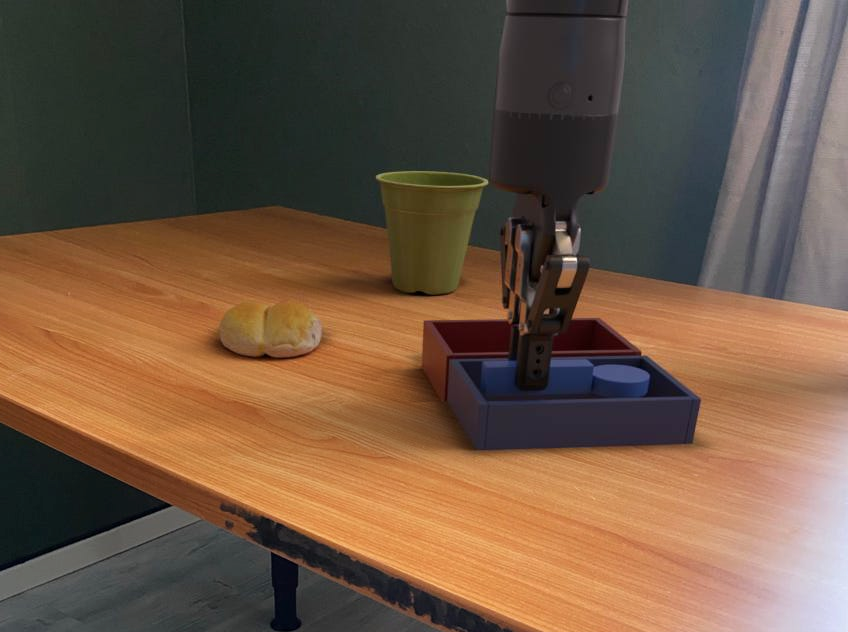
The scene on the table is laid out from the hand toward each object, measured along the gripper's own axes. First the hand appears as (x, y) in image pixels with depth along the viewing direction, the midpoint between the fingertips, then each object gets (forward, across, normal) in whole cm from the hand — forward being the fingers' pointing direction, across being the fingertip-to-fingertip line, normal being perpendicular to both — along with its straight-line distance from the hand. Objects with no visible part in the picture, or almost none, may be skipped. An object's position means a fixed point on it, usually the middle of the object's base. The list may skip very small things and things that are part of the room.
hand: (526, 383), depth 70 cm
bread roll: (+4, +24, +17) cm, 29 cm away
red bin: (+4, +11, -3) cm, 12 cm away
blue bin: (+4, 0, -3) cm, 5 cm away
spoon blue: (+1, 0, -3) cm, 3 cm away
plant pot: (+4, +46, -1) cm, 46 cm away
